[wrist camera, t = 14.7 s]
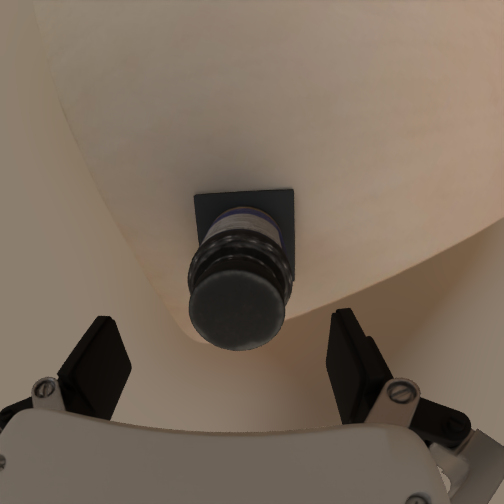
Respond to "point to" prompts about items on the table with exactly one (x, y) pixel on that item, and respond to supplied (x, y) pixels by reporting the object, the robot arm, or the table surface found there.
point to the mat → (269, 201)
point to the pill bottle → (240, 280)
